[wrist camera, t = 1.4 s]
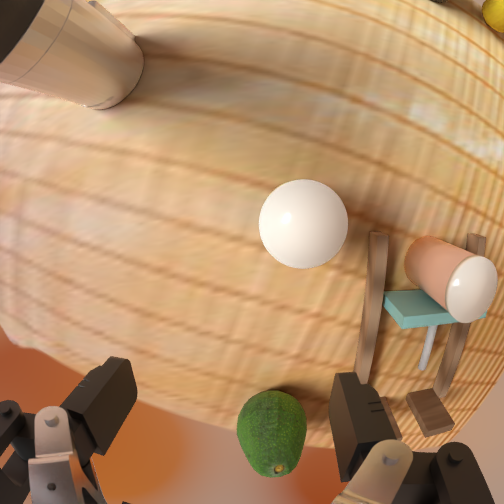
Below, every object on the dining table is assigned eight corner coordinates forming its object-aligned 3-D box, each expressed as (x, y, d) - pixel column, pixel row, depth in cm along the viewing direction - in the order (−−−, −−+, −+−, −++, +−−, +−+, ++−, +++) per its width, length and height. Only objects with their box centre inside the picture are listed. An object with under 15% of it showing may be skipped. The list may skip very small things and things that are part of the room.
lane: (369, 231, 28) (401, 248, 20) (474, 233, 27) (517, 248, 19) (345, 407, 33) (357, 451, 25) (436, 392, 32) (458, 427, 24)
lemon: (477, 3, 18) (504, -17, 10) (503, 30, 19) (532, 14, 11) (468, 16, 20) (498, -6, 12) (496, 45, 20) (528, 29, 12)
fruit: (305, 416, 34) (311, 487, 22) (246, 420, 35) (236, 491, 23) (301, 371, 32) (310, 448, 20) (235, 377, 33) (220, 453, 21)
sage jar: (263, 181, 28) (257, 179, 18) (323, 181, 27) (348, 180, 18) (264, 240, 29) (259, 268, 19) (322, 240, 28) (346, 268, 19)
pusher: (381, 291, 29) (404, 316, 23) (458, 286, 28) (488, 307, 22) (370, 356, 31) (387, 388, 25) (444, 346, 30) (467, 372, 24)
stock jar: (406, 234, 28) (455, 257, 18) (448, 235, 27) (502, 256, 18) (400, 287, 29) (443, 326, 19) (441, 284, 28) (489, 319, 19)
